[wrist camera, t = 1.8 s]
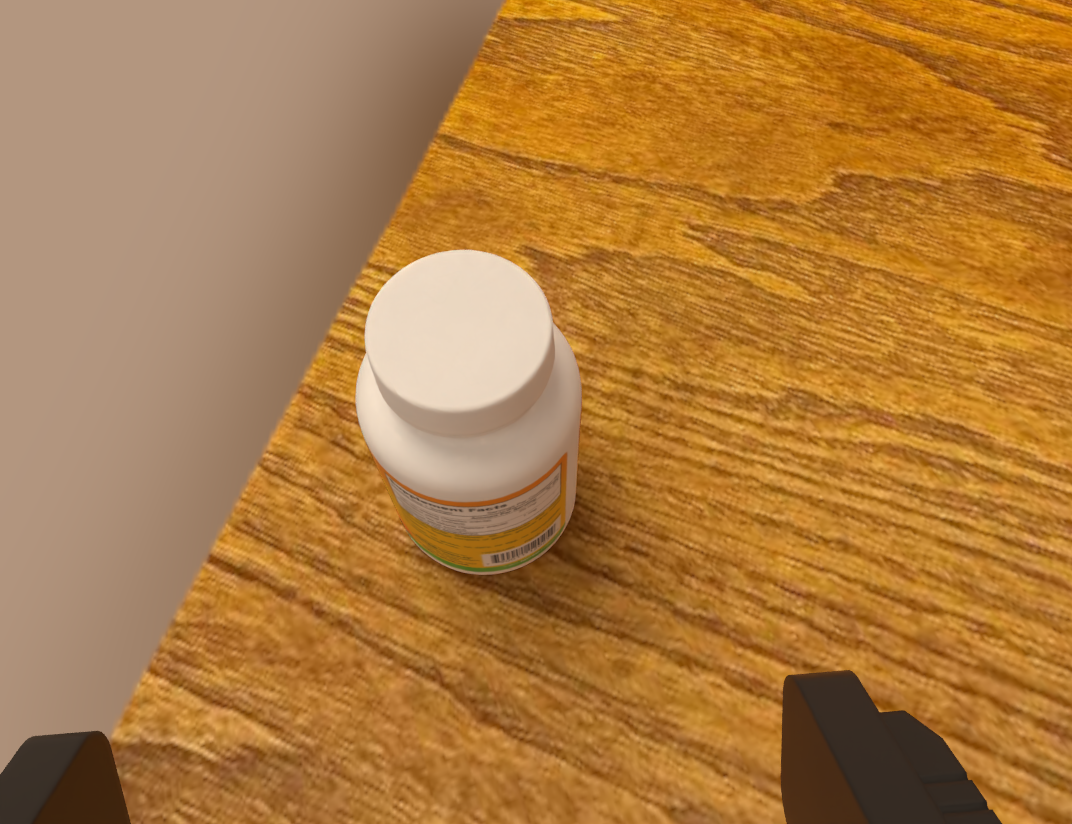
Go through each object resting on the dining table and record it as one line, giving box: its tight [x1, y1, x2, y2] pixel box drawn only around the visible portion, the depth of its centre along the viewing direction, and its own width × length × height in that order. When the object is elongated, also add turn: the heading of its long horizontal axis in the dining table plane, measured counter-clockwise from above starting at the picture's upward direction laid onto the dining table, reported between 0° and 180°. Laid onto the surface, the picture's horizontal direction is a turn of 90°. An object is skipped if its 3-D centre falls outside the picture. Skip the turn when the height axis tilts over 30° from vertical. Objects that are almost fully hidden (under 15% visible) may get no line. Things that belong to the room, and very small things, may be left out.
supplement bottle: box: [356, 250, 582, 575], centre depth 24 cm, size 5×5×10 cm
